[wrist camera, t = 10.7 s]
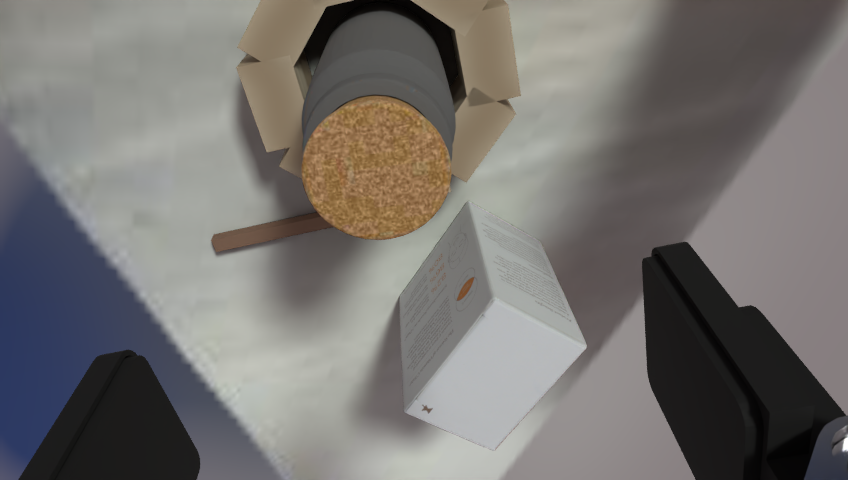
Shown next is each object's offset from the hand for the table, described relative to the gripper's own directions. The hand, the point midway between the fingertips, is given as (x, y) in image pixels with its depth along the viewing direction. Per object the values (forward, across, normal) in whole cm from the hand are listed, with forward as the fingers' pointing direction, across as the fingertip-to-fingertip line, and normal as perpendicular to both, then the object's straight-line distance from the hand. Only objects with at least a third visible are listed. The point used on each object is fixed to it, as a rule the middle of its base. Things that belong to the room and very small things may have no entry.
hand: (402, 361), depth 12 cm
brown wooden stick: (+24, +8, +8) cm, 27 cm away
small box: (+24, -1, +14) cm, 28 cm away
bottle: (+24, +1, 0) cm, 24 cm away
